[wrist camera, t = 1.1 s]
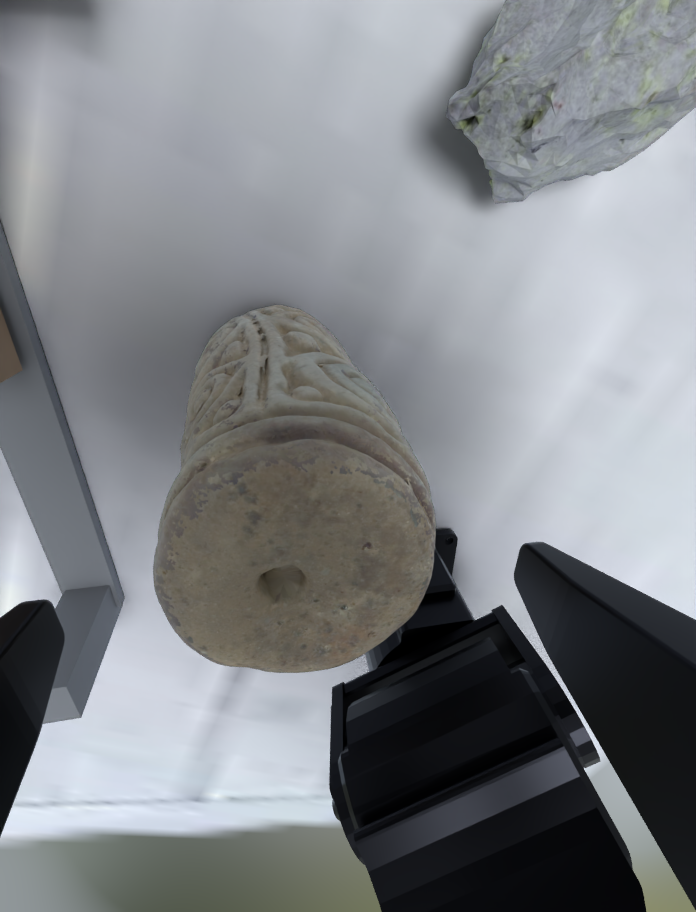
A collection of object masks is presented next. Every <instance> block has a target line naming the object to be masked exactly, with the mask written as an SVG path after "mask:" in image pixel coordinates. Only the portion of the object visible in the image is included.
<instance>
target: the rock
mask: <svg viewBox="0 0 696 912" xmlns="http://www.w3.org/2000/svg"><path fill="white" fill-rule="evenodd" d="M694 108H696V0H506V1H505V3H504V6H503V8H502V10H501V12H500V14H499V16H498V18H497V21H496V23H495V24H494V26H493V27H492V28H491V29H490V31H489V32H488V33H487V35H486V36H485V37H484V39H483V43H482V48H481V50H480V52H479V54H478V55H477V57H476V59H475V61H474V63H473V69H472V75H471V78H470V80H469V83H468V85H467V86H466V87H465V88H463V89H460V90H458V91H457V92H456V93H455V94H454V95H453V96H452V97H451V98H450V99H449V103H448V107H447V112H446V117H447V118H448V119H449V120H451V122H452V124H453V126H454V127H455V129H462V130H463V133H464V135H465V136H466V137H467V138H468V139H469V140H470V141H471V142H472V143H473V144H474V145H475V146H476V147H477V149H478V153H479V155H480V156H481V157H482V158H483V159H484V165H485V168H486V169H488V170H489V176H490V177H491V178H492V179H491V180H490V181H489V182H490V185H491V187H492V198H493V200H494V202H495V204H496V203H507V202H519V201H524V200H525V199H526V198H527V197H528V196H529V195H530V194H531V193H532V192H534V191H537V190H539V189H540V188H542V187H543V186H545V185H548V184H551V183H554V182H557V181H561V180H564V181H566V180H572V179H575V178H577V177H580V176H583V175H591V176H593V175H595V174H597V173H599V172H601V171H611V170H613V169H615V168H617V167H618V166H620V165H622V164H624V163H626V162H627V161H629V160H630V159H632V158H633V157H635V156H636V155H638V154H639V153H641V152H642V151H644V150H645V149H646V148H648V147H649V146H650V145H651V144H653V143H654V142H655V141H656V140H658V139H659V138H660V137H661V136H662V135H664V134H665V133H666V132H667V131H668V130H669V129H670V128H672V127H673V126H674V125H675V124H676V123H677V122H678V121H680V120H681V119H682V118H683V117H684V116H686V115H687V114H688V113H689V112H690V111H692V110H693V109H694Z"/></svg>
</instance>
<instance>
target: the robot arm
mask: <svg viewBox="0 0 696 912" xmlns="http://www.w3.org/2000/svg"><path fill="white" fill-rule="evenodd" d="M449 537H450V538H449ZM447 538H449V539H448V540H446V539H447ZM456 547H457V536H456V535H455V533H454V532H453V531H452V530H439V531H436V537H435V550H434V565H433V571H432V576H431V580H430V583H429V585H428V588H427V590H426V592H425V595H424V597H423V599H422V601H421V603H420V605H419V606H418V609H417V610H416V612H415V613H414V615H413V616H412V617H411V618H410V619H409V620H408V621H407V622H406V623H404V624H403V625H402V626H401V627H399V628H398V629H397V630H396V631H395V632H394V633H393V634H391V635H390V636H389V637H388V638H386V639H385V640H384V641H383V642H381V643H380V644H378V645H377V646H376V647H374V648H373V649H371V650H369V651H368V652H366V653H365V655H366V659H367V663H368V668H369V672H368V673H366V674H364V675H362V676H360V677H357V678H355V679H353V680H351V681H349V682H347V683H344V682H342V683H340V684H338V685H336V686H334V687H333V688H332V706H331V739H330V784H329V785H330V792H331V795H332V798H333V801H332V806H333V811H334V814H335V816H336V818H337V819H338V820H339V821H340V822H341V824H342V827H343V830H344V832H345V835H346V838H347V839H348V842H349V844H350V846H351V848H352V850H353V851H354V853H355V855H356V856H357V858H358V859H359V860H360V861H361V862H362V863H363V864H364V865H366V868H367V870H368V873H369V875H370V878H371V881H372V884H373V887H374V889H375V892H376V895H377V898H378V901H379V904H380V907H381V911H382V912H646V907H645V901H644V896H643V891H642V887H641V885H640V883H639V881H638V879H637V877H636V875H635V873H634V872H633V870H632V862H631V857H630V853H629V851H628V849H627V846H626V844H625V842H624V841H623V839H622V837H621V835H620V833H619V832H618V830H617V828H616V826H615V824H614V823H613V821H612V819H611V817H610V816H609V814H608V812H607V810H606V808H605V806H604V805H603V803H602V801H601V799H600V797H599V796H598V794H597V792H596V790H595V788H594V786H593V785H592V783H591V781H590V779H589V777H588V776H587V774H586V772H585V770H584V767H585V768H587V767H589V766H591V765H593V764H596V763H598V762H600V757H599V755H598V753H597V750H596V748H595V746H594V744H593V742H592V740H591V738H590V736H589V734H588V733H587V731H586V729H585V727H584V725H583V724H582V722H581V720H580V718H579V716H578V715H577V713H576V711H575V710H574V708H573V706H572V705H571V703H570V701H569V700H568V698H567V696H566V695H565V693H564V691H563V690H562V688H561V687H560V685H559V684H558V682H557V680H556V679H555V677H554V676H553V674H552V673H551V671H550V670H549V669H548V667H547V666H546V664H545V663H544V661H543V660H542V659H541V657H540V656H539V655H538V653H537V652H536V651H535V649H534V648H533V646H532V645H531V644H530V642H529V641H528V640H527V638H526V637H525V635H524V634H523V633H522V631H521V630H520V629H519V627H518V626H517V624H516V623H515V622H514V620H513V619H512V618H511V616H510V615H509V614H508V612H507V611H506V609H505V608H504V607H503V605H501V606H499V607H497V608H495V609H493V610H492V613H489V614H487V615H485V616H483V617H481V618H479V619H477V620H475V619H474V618H473V616H472V614H471V612H470V610H469V608H468V607H467V605H466V603H465V601H464V599H463V598H462V596H461V594H460V592H459V590H458V588H457V587H456V584H455V582H454V580H453V578H452V572H453V566H454V559H455V553H456ZM514 580H515V584H516V587H517V589H518V591H519V593H520V595H521V598H522V600H523V602H524V604H525V606H526V609H527V611H528V613H529V615H530V617H531V620H532V622H533V624H534V626H535V628H536V631H537V633H538V635H539V637H540V639H541V641H542V643H543V646H544V648H545V650H546V652H547V653H548V655H549V657H550V659H551V661H552V663H553V664H554V666H555V668H556V670H557V671H558V673H559V675H560V676H561V678H562V680H563V682H564V683H565V685H566V687H567V689H568V690H569V692H570V694H571V695H572V697H573V699H574V701H575V702H576V704H577V706H578V708H579V709H580V711H581V713H582V715H583V716H584V718H585V720H586V721H587V723H588V725H589V727H590V728H591V730H592V732H593V734H594V735H595V737H596V739H597V740H598V742H599V744H600V746H601V747H602V749H603V751H604V753H605V754H606V756H607V758H608V759H609V761H610V763H611V764H612V766H613V768H614V770H615V772H616V773H617V775H618V777H619V778H620V780H621V782H622V784H623V785H624V787H625V788H626V791H627V792H628V794H629V796H630V797H631V799H632V801H633V803H634V804H635V806H636V808H637V810H638V811H639V813H640V815H641V816H642V818H643V820H644V822H645V823H646V825H647V827H648V829H649V830H650V832H651V834H652V836H653V837H654V839H655V841H656V842H657V844H658V846H659V847H660V849H661V851H662V853H663V855H664V856H665V858H666V860H667V861H668V863H669V865H670V866H671V868H672V870H673V872H674V874H675V875H676V877H677V879H678V880H679V882H680V884H681V885H682V887H683V889H684V891H685V892H686V894H687V896H688V898H689V899H690V901H691V903H692V905H693V906H694V908H695V910H696V620H695V619H693V618H691V617H689V616H687V615H685V614H683V613H681V612H679V611H677V610H675V609H673V608H671V607H669V606H667V605H665V604H664V603H662V602H660V601H658V600H656V599H654V598H652V597H650V596H648V595H646V594H644V593H642V592H640V591H638V590H636V589H634V588H632V587H630V586H628V585H626V584H624V583H622V582H620V581H618V580H617V579H615V578H613V577H611V576H609V575H607V574H605V573H603V572H601V571H599V570H597V569H595V568H593V567H591V566H589V565H587V564H585V563H583V562H581V561H579V560H577V559H575V558H573V557H571V556H570V555H568V554H566V553H564V552H562V551H560V550H558V549H556V548H554V547H552V546H550V545H548V544H546V543H544V542H532V543H525V544H523V545H522V546H521V548H520V551H519V555H518V559H517V563H516V567H515V571H514ZM64 644H65V633H64V629H63V627H62V625H61V622H60V620H59V618H58V615H57V613H56V611H55V608H54V606H53V604H52V603H51V602H50V601H49V600H35V601H26V602H22V603H20V604H18V605H17V606H15V607H14V608H13V609H11V610H10V611H9V612H7V613H6V614H5V615H3V616H2V617H1V618H0V836H1V834H2V831H3V828H4V826H5V823H6V821H7V818H8V816H9V813H10V810H11V808H12V805H13V803H14V800H15V797H16V795H17V792H18V790H19V787H20V784H21V782H22V779H23V777H24V774H25V772H26V769H27V766H28V764H29V761H30V759H31V756H32V753H33V751H34V748H35V745H36V743H37V740H38V737H39V734H40V731H41V728H42V724H43V721H44V717H45V714H46V710H47V706H48V703H49V699H50V695H51V692H52V688H53V684H54V681H55V677H56V673H57V670H58V666H59V662H60V659H61V655H62V651H63V648H64Z"/></svg>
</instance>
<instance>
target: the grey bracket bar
mask: <svg viewBox="0 0 696 912" xmlns="http://www.w3.org/2000/svg"><path fill="white" fill-rule="evenodd" d="M0 308H1V311H2V314H3V316H4V319H5V322H6V325H7V328H8V330H9V333H10V336H11V339H12V342H13V344H14V347H15V350H16V353H17V355H18V358H19V361H20V364H21V367H22V369H23V370H22V371H20V372H18V373H17V374H15V375H13V376H12V377H10V378H8V379H7V380H5V381H3V382H1V383H0V448H1V450H2V452H3V455H4V457H5V459H6V462H7V464H8V467H9V469H10V471H11V474H12V476H13V478H14V481H15V483H16V486H17V488H18V490H19V493H20V495H21V497H22V500H23V502H24V505H25V507H26V509H27V512H28V514H29V516H30V519H31V521H32V523H33V526H34V528H35V531H36V533H37V535H38V538H39V540H40V542H41V545H42V547H43V550H44V552H45V554H46V557H47V559H48V561H49V564H50V566H51V569H52V571H53V573H54V576H55V578H56V580H57V583H58V585H59V588H60V590H61V592H62V597H61V599H60V601H59V603H58V605H57V606H56V608H55V611H56V613H57V615H58V618H59V620H60V622H61V625H62V627H63V629H64V633H65V644H64V648H63V651H62V655H61V659H60V662H59V666H58V670H57V673H56V677H55V681H54V684H53V688H52V692H51V695H50V699H49V703H48V706H47V710H46V714H45V717H44V721H43V724H45V723H51V722H58V721H64V720H70V719H76V718H81V716H82V714H83V711H84V708H85V706H86V703H87V700H88V697H89V695H90V692H91V689H92V687H93V684H94V681H95V678H96V676H97V673H98V670H99V668H100V665H101V662H102V659H103V657H104V654H105V651H106V649H107V646H108V643H109V640H110V638H111V635H112V632H113V629H114V627H115V624H116V621H117V619H118V616H119V613H120V610H121V608H122V602H123V600H124V595H123V592H122V589H121V586H120V583H119V580H118V577H117V574H116V571H115V568H114V564H113V561H112V558H111V555H110V552H109V549H108V546H107V543H106V540H105V537H104V534H103V531H102V528H101V525H100V522H99V519H98V516H97V513H96V510H95V507H94V504H93V501H92V498H91V495H90V492H89V489H88V486H87V483H86V480H85V477H84V474H83V471H82V468H81V464H80V461H79V458H78V455H77V452H76V449H75V446H74V443H73V440H72V437H71V434H70V431H69V428H68V425H67V422H66V419H65V416H64V413H63V410H62V407H61V404H60V401H59V398H58V395H57V392H56V389H55V386H54V383H53V380H52V377H51V374H50V371H49V368H48V364H47V361H46V358H45V355H44V352H43V349H42V346H41V343H40V340H39V337H38V334H37V331H36V328H35V325H34V322H33V319H32V316H31V313H30V310H29V307H28V304H27V301H26V298H25V295H24V292H23V289H22V286H21V283H20V280H19V277H18V274H17V271H16V268H15V264H14V261H13V258H12V255H11V252H10V249H9V246H8V243H7V240H6V237H5V234H4V231H3V228H2V225H1V222H0Z"/></svg>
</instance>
